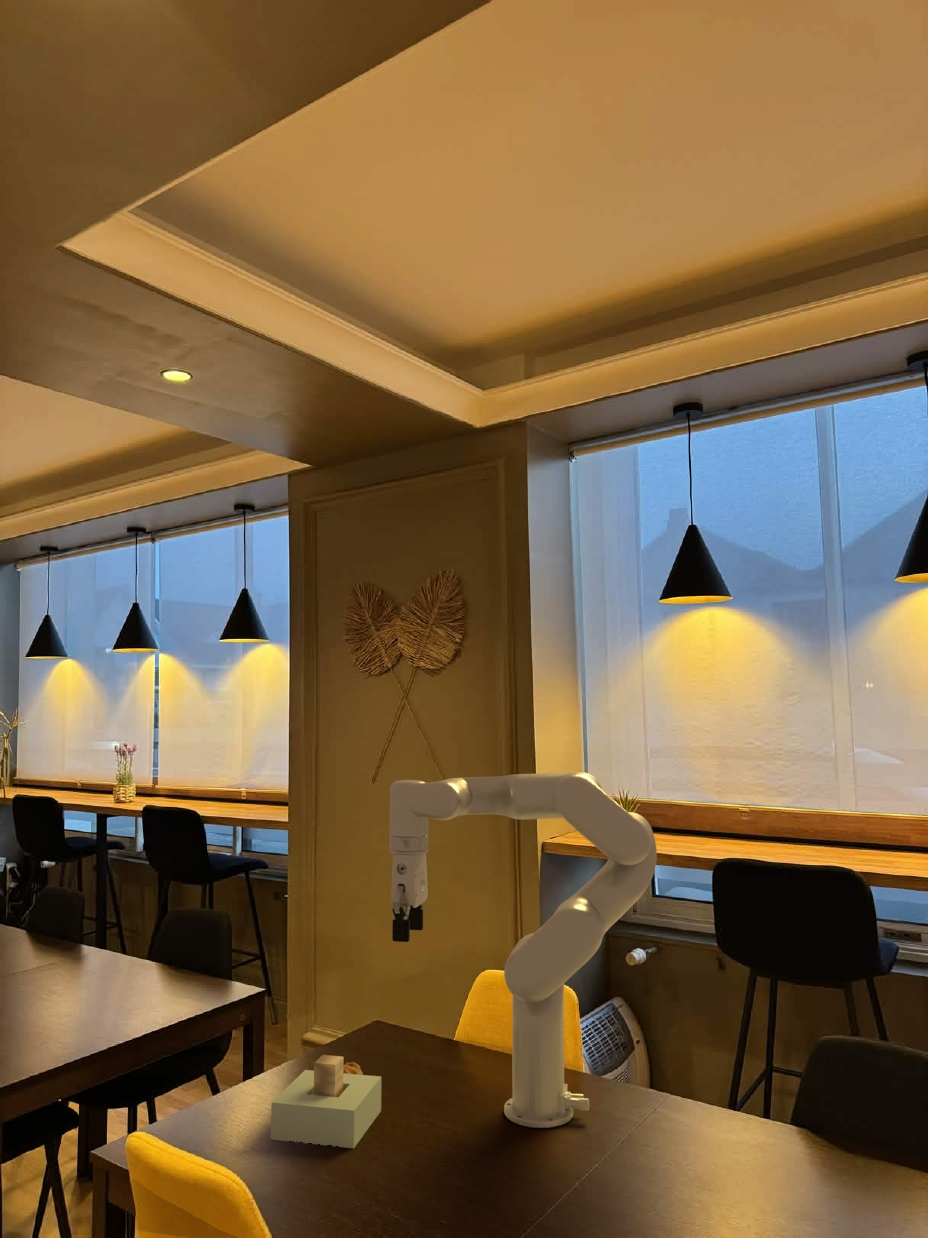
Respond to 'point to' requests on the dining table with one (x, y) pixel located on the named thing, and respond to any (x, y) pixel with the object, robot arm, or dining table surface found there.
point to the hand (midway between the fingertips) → (408, 935)
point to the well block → (326, 1111)
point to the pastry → (352, 1068)
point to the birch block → (328, 1076)
